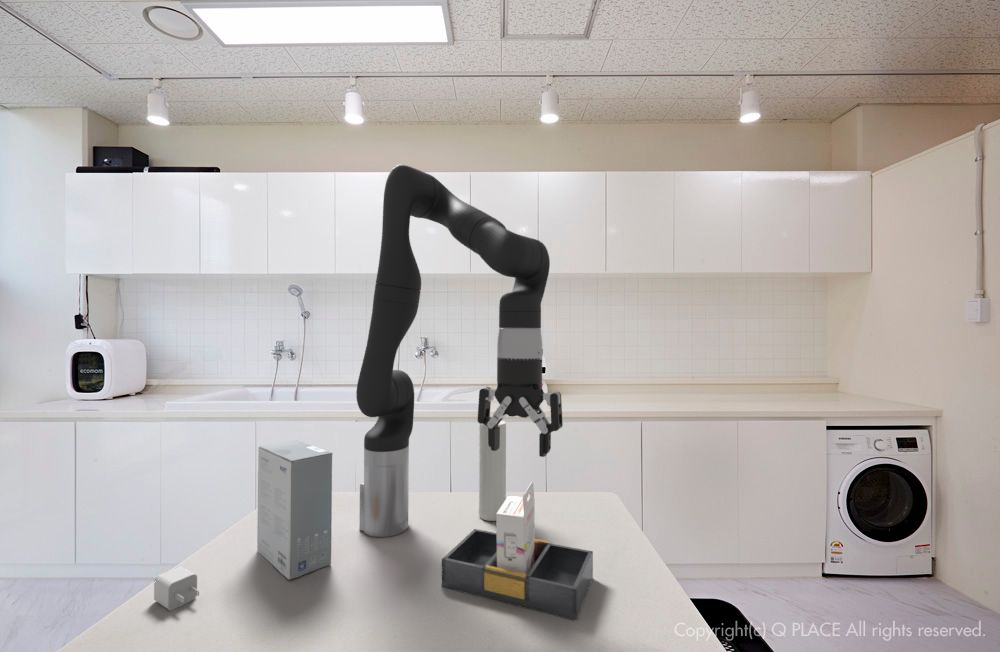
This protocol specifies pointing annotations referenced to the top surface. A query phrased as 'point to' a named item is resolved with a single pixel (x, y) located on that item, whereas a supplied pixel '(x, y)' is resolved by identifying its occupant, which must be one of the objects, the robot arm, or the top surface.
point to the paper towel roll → (491, 474)
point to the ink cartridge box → (516, 532)
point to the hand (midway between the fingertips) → (518, 452)
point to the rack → (521, 575)
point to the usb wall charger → (175, 588)
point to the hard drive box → (294, 507)
